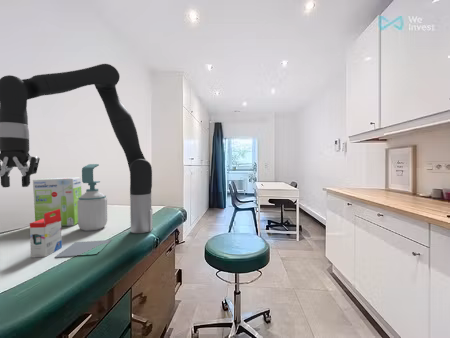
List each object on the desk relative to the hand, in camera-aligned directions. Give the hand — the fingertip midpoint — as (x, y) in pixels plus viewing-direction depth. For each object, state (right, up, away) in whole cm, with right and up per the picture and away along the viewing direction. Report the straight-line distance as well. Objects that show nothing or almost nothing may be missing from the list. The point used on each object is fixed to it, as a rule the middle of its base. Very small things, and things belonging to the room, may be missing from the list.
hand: (15, 186), depth 75 cm
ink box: (+9, -24, +2) cm, 25 cm away
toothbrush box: (-14, -23, +39) cm, 47 cm away
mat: (+21, -23, +5) cm, 31 cm away
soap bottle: (+8, -23, +31) cm, 40 cm away
